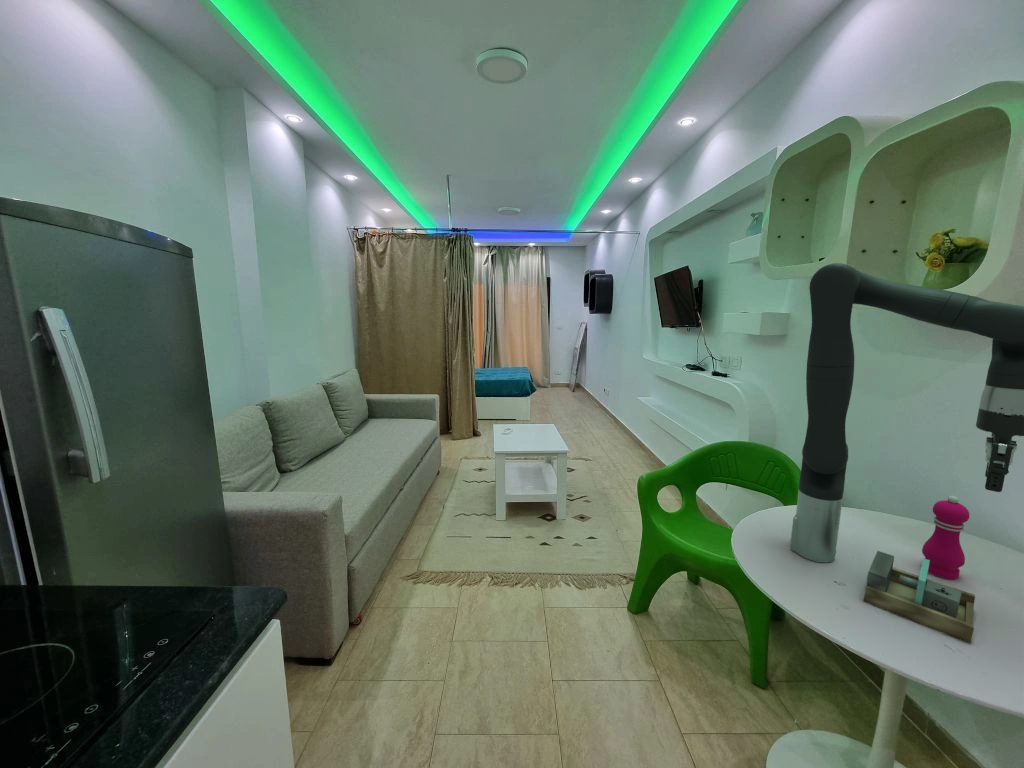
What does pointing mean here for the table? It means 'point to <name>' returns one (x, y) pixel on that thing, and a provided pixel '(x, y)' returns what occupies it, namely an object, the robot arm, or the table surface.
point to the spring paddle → (920, 583)
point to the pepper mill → (946, 539)
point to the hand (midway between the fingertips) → (992, 484)
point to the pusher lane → (901, 600)
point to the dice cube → (941, 598)
